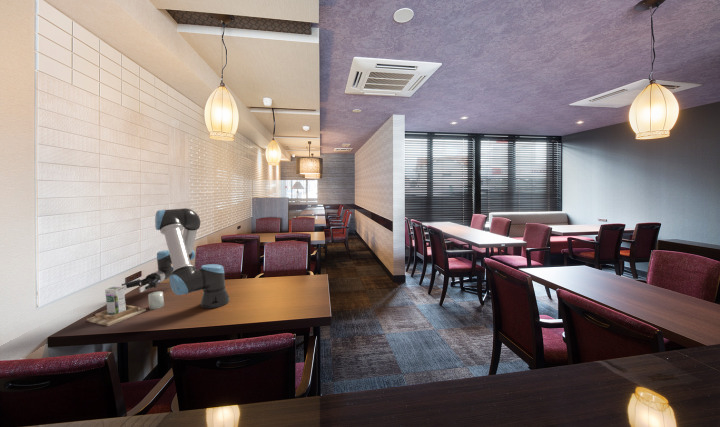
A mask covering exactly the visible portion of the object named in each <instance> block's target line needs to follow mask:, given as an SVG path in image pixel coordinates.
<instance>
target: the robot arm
mask: <svg viewBox="0 0 720 427" xmlns="http://www.w3.org/2000/svg"><path fill="white" fill-rule="evenodd" d="M154 217H155V218H154V223H155V224H154V225H155V226H154V227H155V230H156V231H160V233H161V235H164V238H165V242H166V246H167V250H165V249H164V250H159V251H157V252H156V261H157V262H156V263H157V270H156V271H154V272H151V273H149V274H148V275H146V277H144V278H143V279H139V278H138V279H136V280H131V281H128V282H125V283H122V284H121V286H124V291H126V290H127V289H130V288H134V287H138V288H139V293H143V292H145V291H147V290H149V289H152V288H155V289H156V288H157V287H158V285H159V284H160V283H161V282H163V281H165V280H168V279H169V280H168V281H169V285H170V288H171V290H172V292H173V293H174V294H175V295H176V296H181V295H187V294H190V293H194V292H198V291H202V292H203V293H202V296H201V297H202V298H201V301H200V307H201V308H202V309H214V308H215V309H216V308H220V307H223V306H225V305H227V304H228V303H229V302H230V296H229V294H228V292H227V289H226V280H225V269H224V266H223V265H222V264H215V263H212V264H204V265H203V264H202V265H201V267H200V269H196V266H195V265H193V264H192V262H191V260H192V261H193V260H194V259H195V258H196V253H195V250H194V245H195V240H196V237H197V232H198V230H199V229H200V227H201V219H200V216H199V215H198V213H197V212H196V211H194V210H193V209H190V208H186V207H185V208H175V209H166V208H165V209H160V210H159V209H158V210H157V211H156V212H155V216H154ZM182 231H183V232H182Z"/></svg>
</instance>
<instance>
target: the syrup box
mask: <svg viewBox="0 0 720 427" xmlns="http://www.w3.org/2000/svg"><path fill="white" fill-rule="evenodd" d="M104 290H105V292H104V293H105V300H106V301H105V302H106V310H107V313H108V315H115V314H117V313H120V312H123V311H125V310H126V305H127V304H126V296H125V290H124V286H122V285H120V286H111V287H108V288H107V289H104Z"/></svg>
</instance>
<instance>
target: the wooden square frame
mask: <svg viewBox="0 0 720 427" xmlns="http://www.w3.org/2000/svg"><path fill="white" fill-rule="evenodd" d="M125 305H126V310H125V311H123V312H120V313H117V314H115V315H108V313H107V309H105V310H103V311H100V312H97V313H95V314H94V316H91V317H89V318H88V317H87V318H86V321H87V322H89V323H93V324H97V325H101V326H102V325H103V326H106V327H110V326H113V325H114V324H117V323H119V322H122V321H124V320H127V319H129V318H132V317H134V316H137V315H139V314H143V313H144V312H146V311H147V310H146V308H142V307H138V306H135V305H129V304H125Z"/></svg>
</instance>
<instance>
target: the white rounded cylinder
mask: <svg viewBox="0 0 720 427" xmlns="http://www.w3.org/2000/svg"><path fill="white" fill-rule="evenodd" d="M147 296H148V298H147V299H148V307H149V310H157V309H161V308H163V307H164V306H165V299H164V291H161V290H160V291H158V290H157V291H153V292H150V293H148V295H147Z"/></svg>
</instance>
